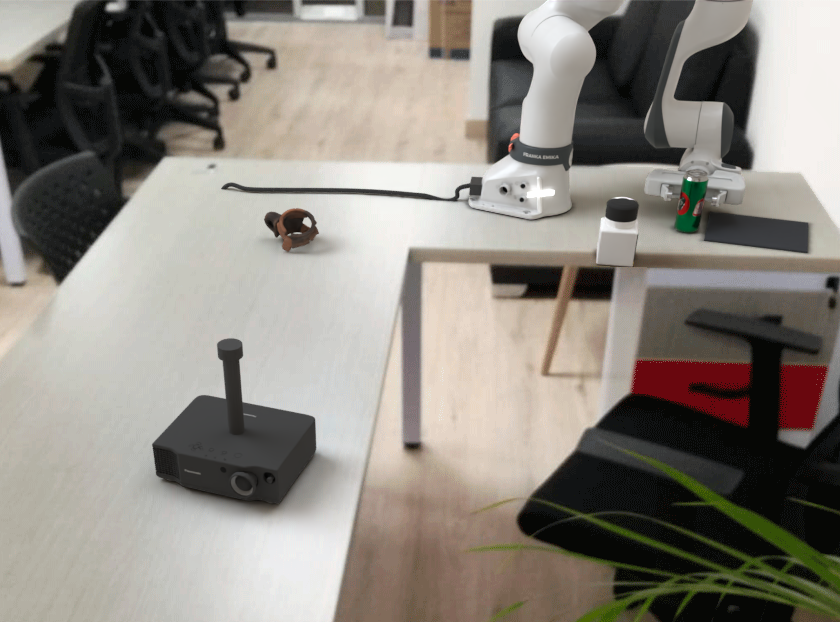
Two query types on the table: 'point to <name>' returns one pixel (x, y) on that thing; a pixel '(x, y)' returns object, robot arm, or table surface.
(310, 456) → the projector
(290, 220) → the brown curved piece
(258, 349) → the table surface
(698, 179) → the soda can
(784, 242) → the desk pad
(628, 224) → the medicine bottle
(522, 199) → the robot arm
